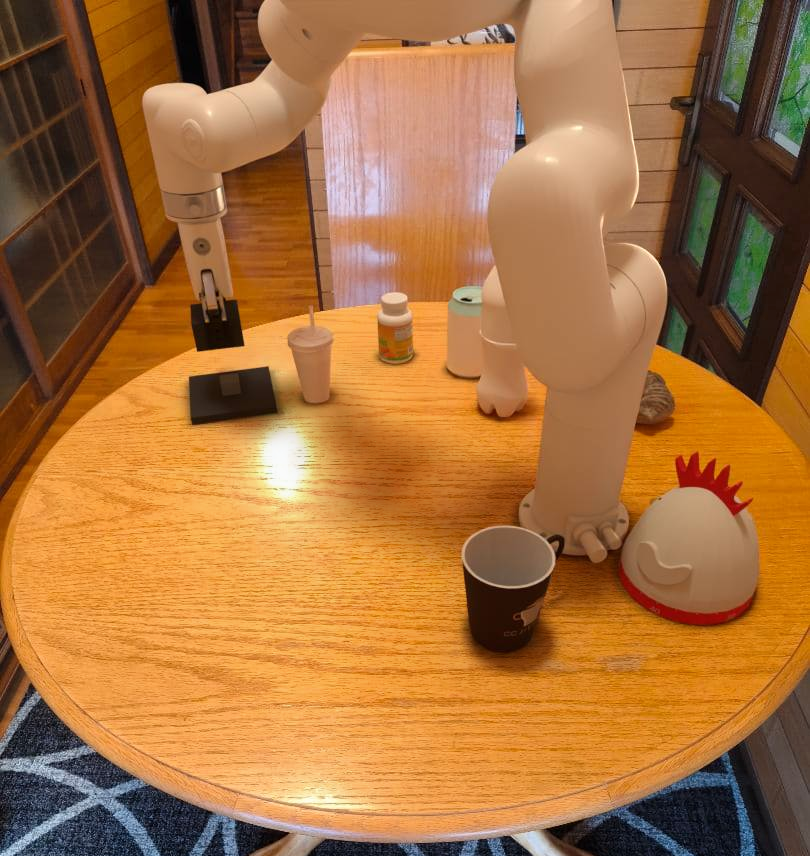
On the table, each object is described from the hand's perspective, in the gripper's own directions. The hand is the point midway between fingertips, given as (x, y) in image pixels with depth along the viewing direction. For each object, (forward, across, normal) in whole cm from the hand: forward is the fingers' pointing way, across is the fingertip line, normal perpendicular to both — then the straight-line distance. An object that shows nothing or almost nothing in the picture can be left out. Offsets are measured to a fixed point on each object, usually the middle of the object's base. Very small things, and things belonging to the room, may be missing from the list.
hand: (219, 334), depth 106 cm
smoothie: (+10, -3, -12) cm, 16 cm away
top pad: (+1, 0, 0) cm, 1 cm away
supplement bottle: (+10, +6, -26) cm, 29 cm away
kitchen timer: (+10, -51, -45) cm, 69 cm away
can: (+10, -1, -36) cm, 38 cm away
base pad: (+10, 0, 0) cm, 10 cm away
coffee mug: (+10, -53, -25) cm, 60 cm away
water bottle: (+10, -13, -37) cm, 41 cm away
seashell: (+10, -20, -54) cm, 59 cm away
